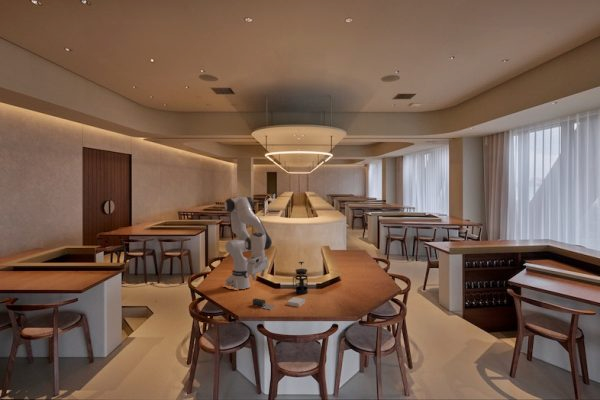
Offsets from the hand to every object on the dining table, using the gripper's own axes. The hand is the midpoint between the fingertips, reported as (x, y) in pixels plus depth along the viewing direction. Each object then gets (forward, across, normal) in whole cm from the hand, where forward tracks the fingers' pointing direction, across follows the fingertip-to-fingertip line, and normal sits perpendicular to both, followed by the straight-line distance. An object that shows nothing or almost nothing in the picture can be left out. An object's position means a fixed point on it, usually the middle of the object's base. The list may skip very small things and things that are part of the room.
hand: (258, 278), depth 206 cm
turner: (+19, 0, +4) cm, 19 cm away
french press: (+19, -35, +14) cm, 42 cm away
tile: (+17, -14, +16) cm, 28 cm away
